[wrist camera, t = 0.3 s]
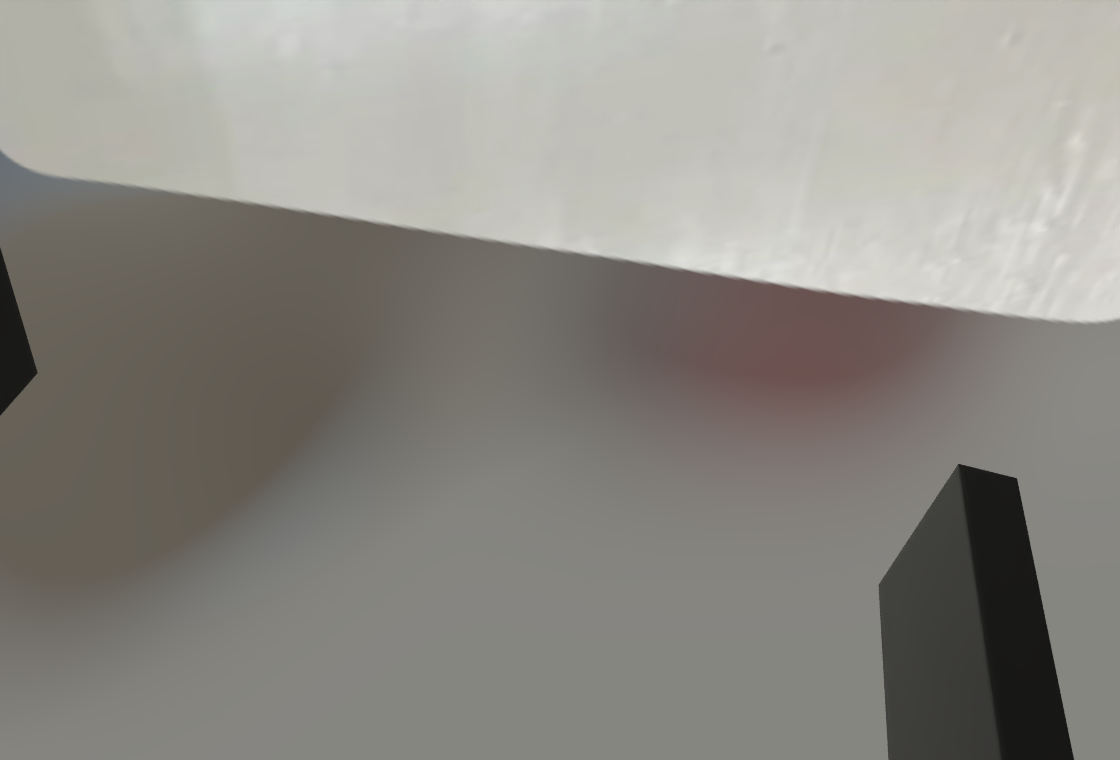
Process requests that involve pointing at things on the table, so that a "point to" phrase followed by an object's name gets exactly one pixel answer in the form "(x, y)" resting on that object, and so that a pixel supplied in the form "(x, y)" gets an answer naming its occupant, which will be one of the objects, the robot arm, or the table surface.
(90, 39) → the table surface
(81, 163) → the table surface
